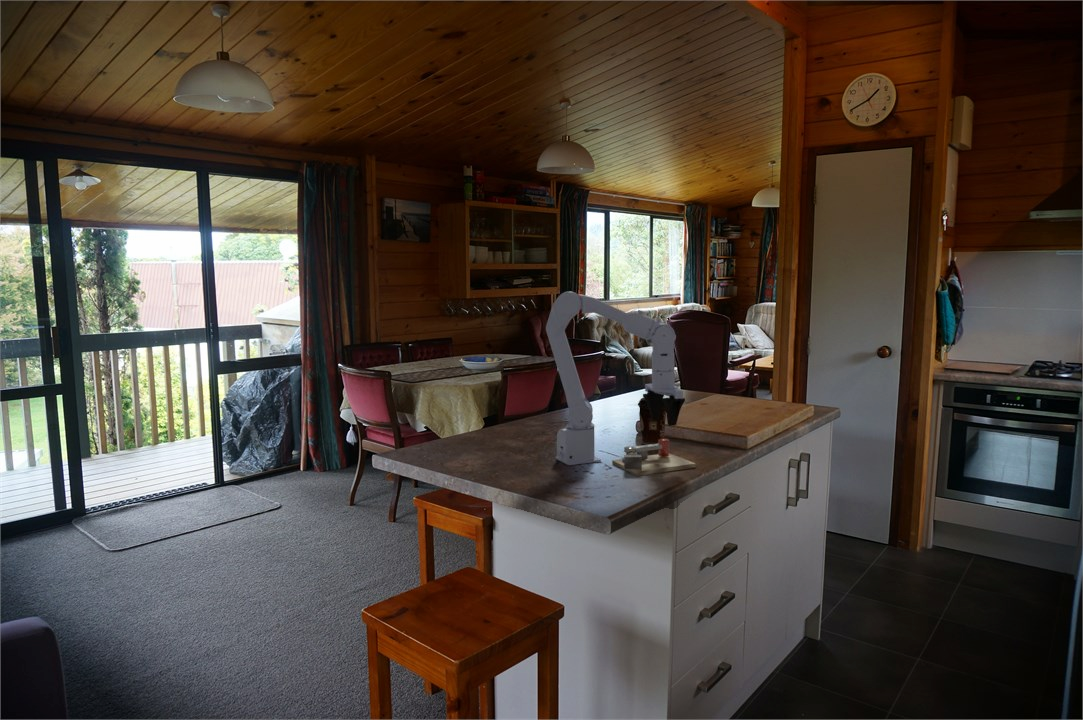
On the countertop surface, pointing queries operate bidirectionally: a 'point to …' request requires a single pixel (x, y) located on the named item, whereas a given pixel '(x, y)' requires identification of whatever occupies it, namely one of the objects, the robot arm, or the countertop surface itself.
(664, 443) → the lever
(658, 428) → the coffee cup
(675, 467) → the cracker base
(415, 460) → the countertop surface
